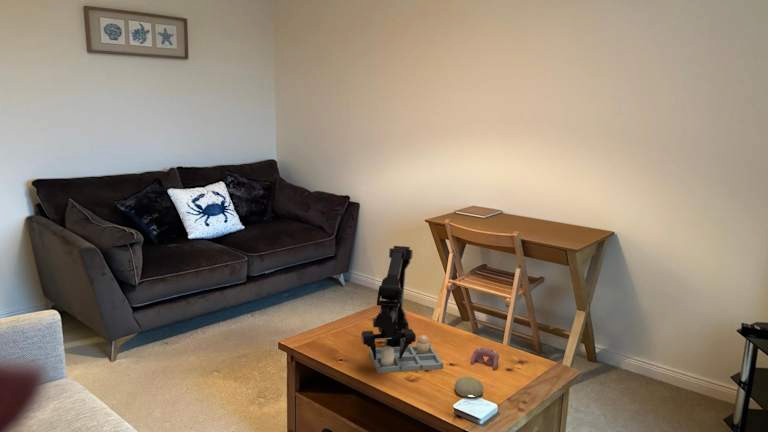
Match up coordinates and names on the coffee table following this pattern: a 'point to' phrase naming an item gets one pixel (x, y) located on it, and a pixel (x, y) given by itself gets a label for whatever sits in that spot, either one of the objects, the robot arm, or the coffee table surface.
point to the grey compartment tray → (408, 360)
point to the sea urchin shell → (468, 386)
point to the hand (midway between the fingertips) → (387, 358)
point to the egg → (387, 356)
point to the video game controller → (487, 353)
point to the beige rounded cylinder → (422, 345)
